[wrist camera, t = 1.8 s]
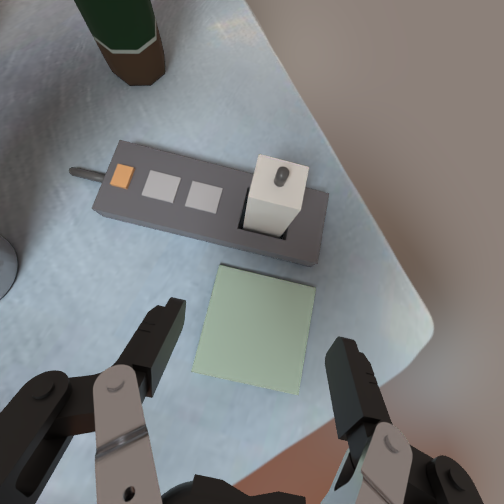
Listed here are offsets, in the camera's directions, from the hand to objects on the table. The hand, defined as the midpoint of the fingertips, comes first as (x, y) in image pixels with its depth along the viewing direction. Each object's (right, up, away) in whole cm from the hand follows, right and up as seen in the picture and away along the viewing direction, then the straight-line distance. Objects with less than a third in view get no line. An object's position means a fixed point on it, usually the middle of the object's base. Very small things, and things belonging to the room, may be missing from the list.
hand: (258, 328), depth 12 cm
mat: (0, -5, +15) cm, 16 cm away
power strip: (-7, +10, +17) cm, 21 cm away
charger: (+1, +8, +18) cm, 19 cm away
